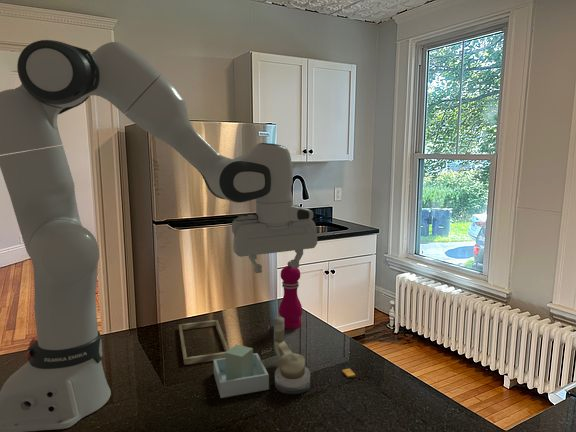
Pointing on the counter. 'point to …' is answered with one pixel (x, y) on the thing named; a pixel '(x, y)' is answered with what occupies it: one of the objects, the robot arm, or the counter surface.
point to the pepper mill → (290, 297)
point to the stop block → (239, 362)
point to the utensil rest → (202, 357)
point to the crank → (287, 353)
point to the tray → (241, 379)
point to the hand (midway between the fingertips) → (276, 269)
